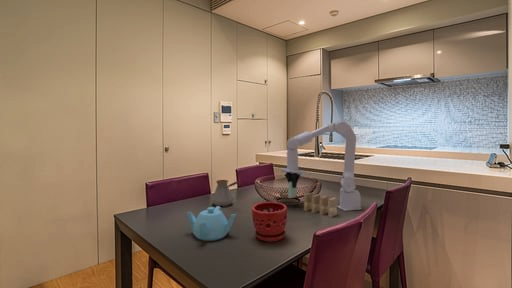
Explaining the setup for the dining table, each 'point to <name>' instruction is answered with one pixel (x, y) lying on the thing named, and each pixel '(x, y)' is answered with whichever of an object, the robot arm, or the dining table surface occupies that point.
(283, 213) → the plant pot
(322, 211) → the domino
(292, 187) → the teal domino
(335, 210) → the domino
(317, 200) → the domino
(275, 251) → the dining table surface
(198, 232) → the teapot
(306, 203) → the domino
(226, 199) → the coffee pot
